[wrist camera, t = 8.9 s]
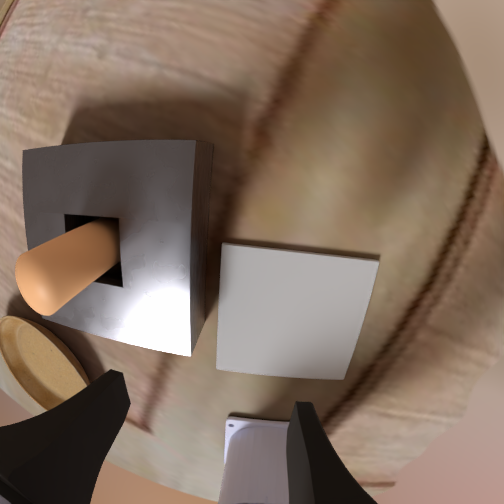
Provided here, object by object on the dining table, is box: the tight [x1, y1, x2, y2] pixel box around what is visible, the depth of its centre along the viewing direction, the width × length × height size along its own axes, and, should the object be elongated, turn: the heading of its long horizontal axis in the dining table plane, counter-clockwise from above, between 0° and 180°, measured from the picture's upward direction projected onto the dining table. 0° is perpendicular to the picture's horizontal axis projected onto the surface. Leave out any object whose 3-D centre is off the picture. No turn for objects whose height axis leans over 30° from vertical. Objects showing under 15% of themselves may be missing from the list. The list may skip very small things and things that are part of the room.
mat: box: [216, 243, 379, 380], centre depth 19 cm, size 10×10×1 cm
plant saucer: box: [0, 316, 90, 411], centre depth 23 cm, size 15×15×3 cm
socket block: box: [22, 140, 214, 356], centre depth 16 cm, size 12×12×4 cm
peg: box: [15, 217, 121, 316], centre depth 14 cm, size 3×3×9 cm
